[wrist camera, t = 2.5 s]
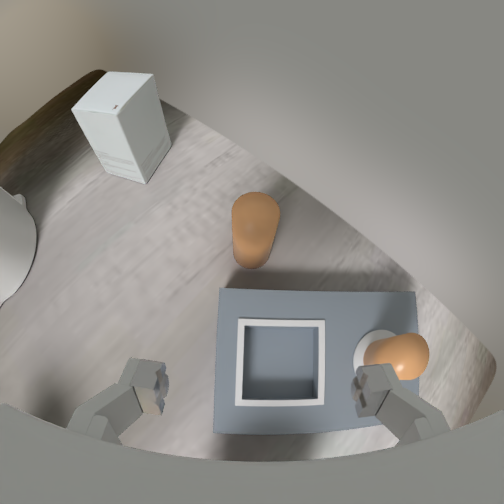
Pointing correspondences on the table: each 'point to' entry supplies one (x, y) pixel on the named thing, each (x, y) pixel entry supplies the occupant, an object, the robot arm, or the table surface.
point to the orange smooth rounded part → (254, 228)
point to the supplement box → (125, 124)
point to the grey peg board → (307, 357)
